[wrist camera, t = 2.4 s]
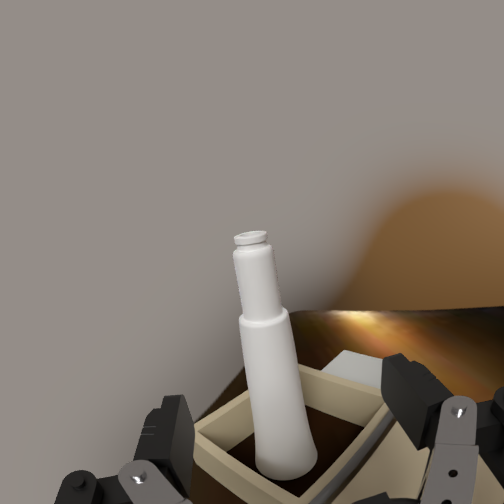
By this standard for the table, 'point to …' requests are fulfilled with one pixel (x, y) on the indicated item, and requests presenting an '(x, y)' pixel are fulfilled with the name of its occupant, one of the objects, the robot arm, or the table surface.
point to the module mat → (356, 368)
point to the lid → (408, 473)
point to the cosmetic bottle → (271, 364)
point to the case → (316, 396)
